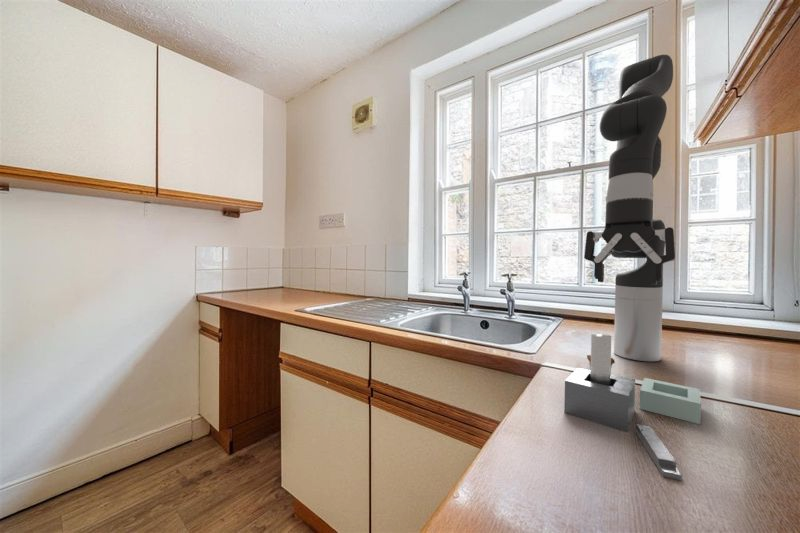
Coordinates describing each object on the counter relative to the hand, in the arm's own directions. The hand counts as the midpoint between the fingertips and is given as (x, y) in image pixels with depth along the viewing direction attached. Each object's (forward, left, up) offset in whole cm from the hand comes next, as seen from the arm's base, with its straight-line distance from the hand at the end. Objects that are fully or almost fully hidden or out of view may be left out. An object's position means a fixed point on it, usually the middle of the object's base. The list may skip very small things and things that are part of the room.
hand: (625, 283), depth 62 cm
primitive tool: (-4, -5, -20) cm, 21 cm away
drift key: (+25, +6, -19) cm, 32 cm away
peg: (+18, -1, -19) cm, 27 cm away
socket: (+18, -1, -19) cm, 27 cm away
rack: (+9, +7, -19) cm, 22 cm away
